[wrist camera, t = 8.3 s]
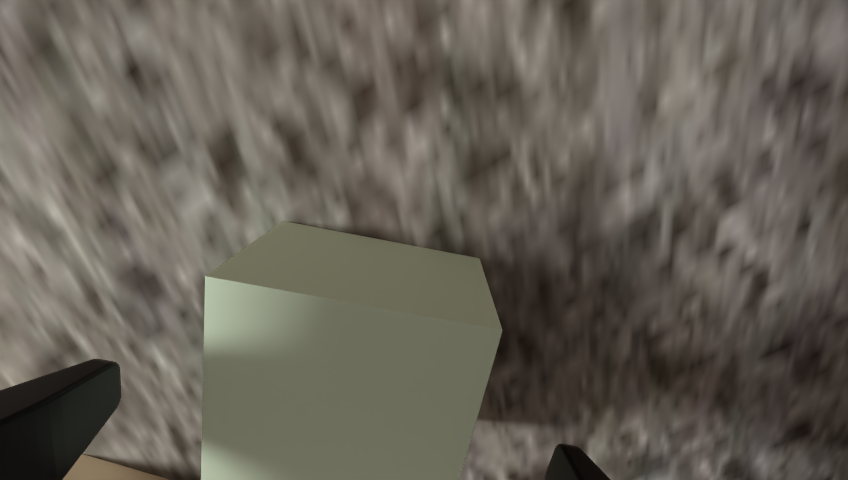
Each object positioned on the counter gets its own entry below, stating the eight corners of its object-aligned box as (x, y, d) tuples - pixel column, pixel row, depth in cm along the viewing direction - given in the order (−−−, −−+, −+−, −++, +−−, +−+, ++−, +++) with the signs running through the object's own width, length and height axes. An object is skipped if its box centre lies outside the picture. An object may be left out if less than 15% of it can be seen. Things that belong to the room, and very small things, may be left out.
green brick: (478, 255, 11) (502, 330, 7) (439, 411, 13) (442, 538, 9) (285, 219, 11) (205, 276, 7) (271, 382, 13) (200, 499, 9)
